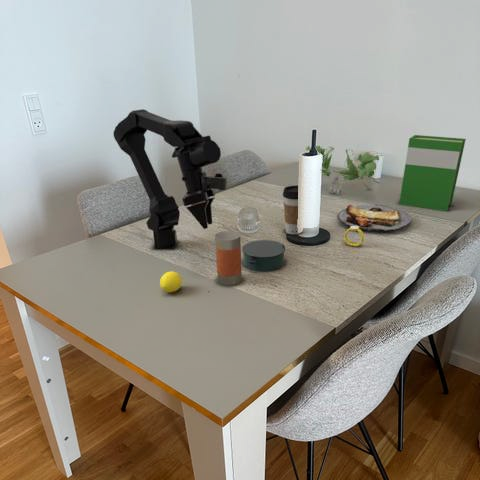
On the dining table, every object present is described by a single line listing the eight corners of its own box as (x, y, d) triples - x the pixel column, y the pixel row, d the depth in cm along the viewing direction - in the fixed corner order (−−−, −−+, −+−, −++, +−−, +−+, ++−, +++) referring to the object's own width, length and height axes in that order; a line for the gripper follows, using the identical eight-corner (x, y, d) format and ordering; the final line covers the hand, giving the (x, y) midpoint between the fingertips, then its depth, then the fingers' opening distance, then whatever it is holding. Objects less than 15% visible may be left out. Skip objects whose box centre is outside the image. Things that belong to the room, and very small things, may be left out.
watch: (363, 245, 146) (366, 227, 143) (360, 248, 144) (362, 230, 141) (345, 242, 149) (347, 224, 146) (342, 244, 147) (344, 226, 144)
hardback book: (451, 205, 177) (465, 138, 164) (447, 210, 172) (461, 142, 159) (404, 198, 185) (414, 134, 173) (399, 203, 180) (409, 138, 167)
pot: (232, 269, 134) (231, 255, 132) (255, 248, 146) (255, 235, 144) (272, 277, 129) (273, 262, 127) (293, 255, 142) (293, 241, 139)
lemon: (172, 298, 120) (170, 280, 117) (155, 294, 123) (153, 275, 120) (188, 287, 125) (186, 269, 122) (172, 283, 128) (170, 265, 125)
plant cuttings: (310, 197, 212) (288, 176, 194) (324, 162, 211) (303, 137, 193) (381, 212, 192) (364, 190, 174) (397, 173, 192) (382, 147, 173)
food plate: (330, 229, 159) (331, 219, 157) (344, 208, 177) (345, 199, 175) (407, 238, 151) (408, 227, 149) (413, 215, 169) (414, 205, 167)
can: (216, 285, 126) (213, 240, 119) (218, 274, 132) (216, 230, 125) (240, 285, 125) (239, 240, 119) (242, 274, 131) (241, 230, 124)
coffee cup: (305, 236, 154) (308, 191, 146) (280, 235, 155) (281, 190, 148) (307, 227, 161) (310, 184, 153) (283, 226, 162) (284, 183, 155)
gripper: (215, 162, 117) (232, 223, 122) (223, 162, 135) (238, 215, 139) (174, 174, 119) (192, 234, 123) (187, 172, 136) (203, 224, 141)
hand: (208, 226), depth 132 cm, fingers open, 9 cm apart
